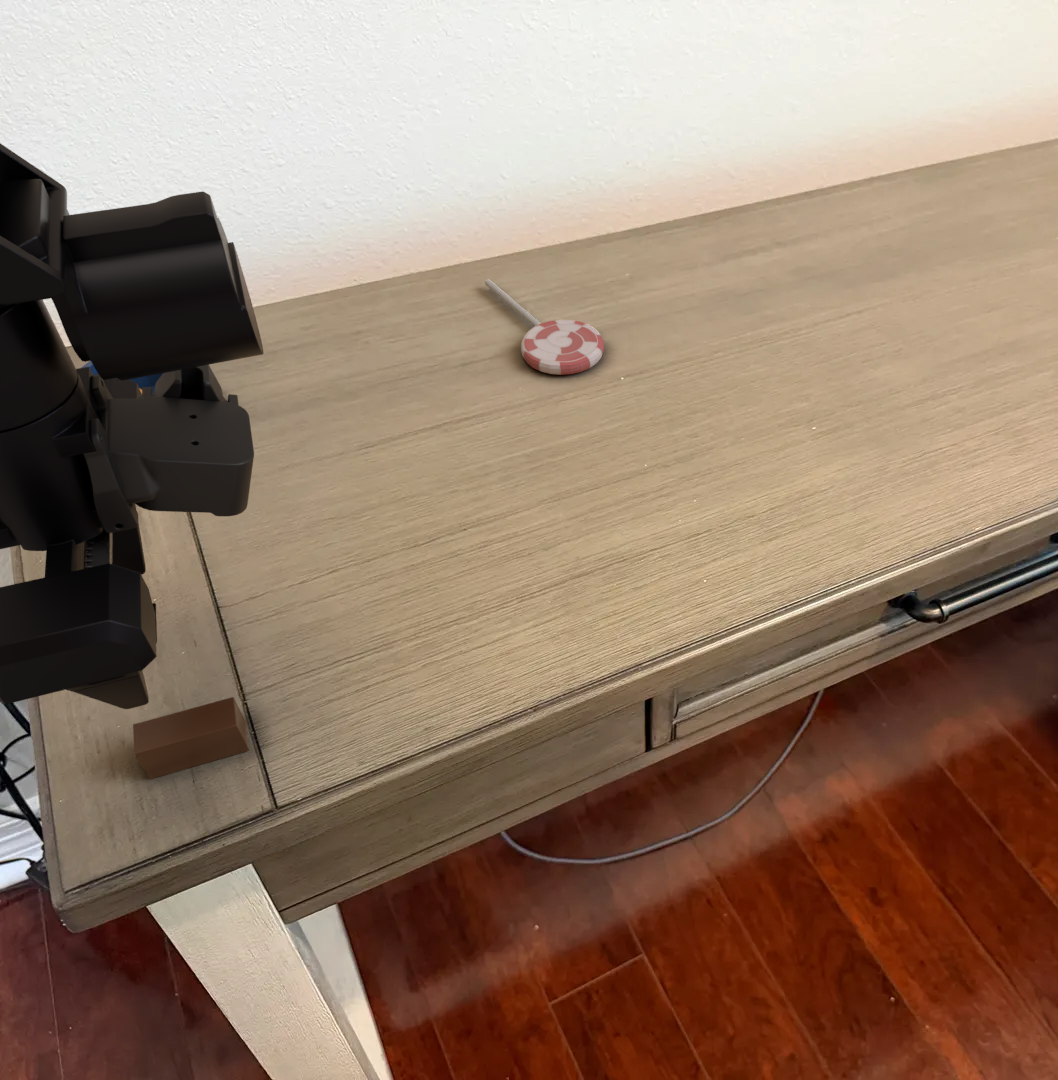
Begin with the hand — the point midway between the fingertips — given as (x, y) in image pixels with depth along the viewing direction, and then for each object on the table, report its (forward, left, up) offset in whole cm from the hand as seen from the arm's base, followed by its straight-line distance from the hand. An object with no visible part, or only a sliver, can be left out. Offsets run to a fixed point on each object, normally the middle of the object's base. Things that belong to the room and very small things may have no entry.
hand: (136, 635), depth 54 cm
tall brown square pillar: (+1, -3, -6) cm, 7 cm away
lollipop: (+29, +30, -6) cm, 42 cm away
